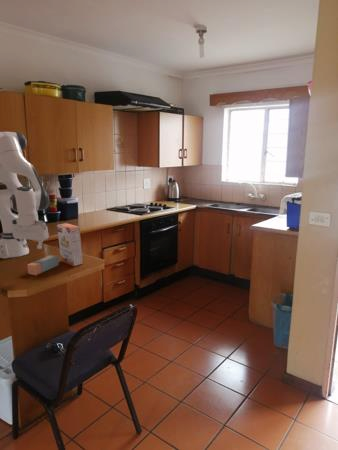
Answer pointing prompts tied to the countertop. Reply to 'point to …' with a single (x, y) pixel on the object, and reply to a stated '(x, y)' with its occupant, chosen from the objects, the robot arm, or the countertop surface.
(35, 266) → the block
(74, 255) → the cracker box
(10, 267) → the countertop surface
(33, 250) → the countertop surface
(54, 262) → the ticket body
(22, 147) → the robot arm
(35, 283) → the countertop surface
